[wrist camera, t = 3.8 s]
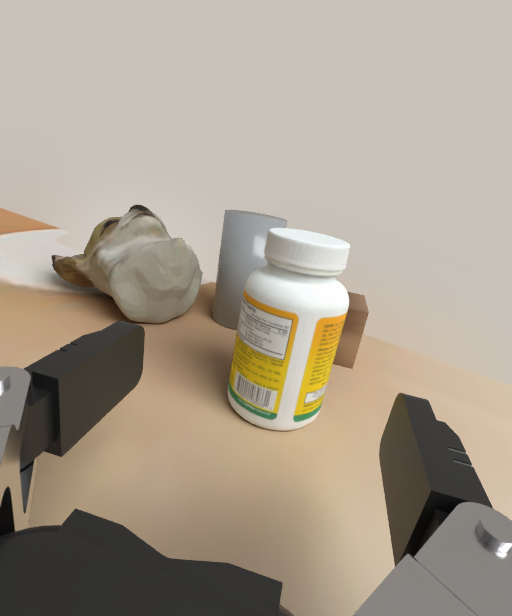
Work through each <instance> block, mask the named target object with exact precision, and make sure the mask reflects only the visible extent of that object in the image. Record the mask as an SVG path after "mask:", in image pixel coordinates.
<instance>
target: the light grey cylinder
mask: <svg viewBox="0 0 512 616" xmlns="http://www.w3.org/2000/svg"><path fill="white" fill-rule="evenodd" d="M286 224H287V220H285V219H282V218H278V217H274V216H270V215H265V214H260V213H254V212H247V211H238V210H225V216H224V224H223V232H222V240H221V248H220V256H219V264H218V272H217V280H216V288H215V296H214V304H213V312H212V318H213V320H214V321H215V322H216V323H218V324H220V325H222V326H224V327H227V328H230V329H234V330H237V329H238V322H239V316H240V310H241V304H242V299H243V292H244V287H245V283H246V280H247V278H248V276H249V275H250V274H251V273H252V272H253V271H255V270H256V269H258V268H260V267H263V266H267V264H268V261H267V260H266V259H265V253H264V249H265V245H266V240H267V235H268V231H269V229H271V228H286Z"/></svg>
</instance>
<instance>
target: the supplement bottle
mask: <svg viewBox="0 0 512 616" xmlns="http://www.w3.org/2000/svg"><path fill="white" fill-rule="evenodd" d="M349 250H350V245H349V244H348V243H347V242H345V241H343V240H340V239H337V238H335V237H331V236H328V235H324V234H319V233H314V232H310V231H304V230H297V229H289V228H271V229H269V231H268V235H267V240H266V245H265V249H264V253H265V259H266V260H267V261H268V264H267V266H263V267H260V268H258V269H256V270H255V271H253V272H252V273H251V274H250V275H249V276H248V278H247V280H246V283H245V287H244V292H243V299H242V304H241V310H240V316H239V322H238V329H237V335H236V342H235V348H234V354H233V360H232V365H231V371H230V377H229V384H228V398H229V401H230V404H231V406H232V407H233V408H234V410H235V411H236V412H237V413H238V414H239V415H240V416H241V417H243V418H244V419H245V420H247V421H249V422H250V423H252V424H255V425H257V426H259V427H263V428H266V429H271V430H278V431H288V430H295V429H299V428H302V427H304V426H306V425H308V424H309V423H311V422H312V421H313V420H314V419H315V418H316V417H317V415H318V413H319V411H320V408H321V404H322V401H323V397H324V393H325V390H326V386H327V383H328V379H329V375H330V371H331V368H332V365H333V361H334V357H335V354H336V350H337V347H338V343H339V339H340V336H341V332H342V329H343V325H344V322H345V318H346V315H347V311H348V307H349V296H348V293H347V291H346V289H345V288H344V286H343V285H342V284H341V283H339V282H338V281H337V280H336V277H337V275H339V274H341V273H342V271H343V270H344V269H345V268H346V262H347V258H348V254H349Z"/></svg>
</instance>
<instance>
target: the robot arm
mask: <svg viewBox="0 0 512 616" xmlns="http://www.w3.org/2000/svg"><path fill="white" fill-rule="evenodd" d="M144 336H145V332H144V328H143V327H142V326H140V325H136V324H132V323H128V322H124V321H117V322H115V323H113V324H112V325H110V326H108V327H107V328H105V329H103V330H101V331H97V332H94V333H90V334H87V335H83V336H81V337H80V338H78V339H76V340H74V341H72V342H71V343H70V344H67V345H65V346H63V347H62V348H60V350H56V351H55V352H53V353H51V354H49V355H47V356H46V357H44V358H42V359H40V360H38V361H37V362H35V363H33V364H31V365H29V366H28V367H26V368H24V369H21V368H17V367H0V616H294V615H293V614H292V613H291V612H289V611H288V610H287V609H285V608H284V607H283V606H281V605H280V604H279V603H280V597H281V590H282V582H279V581H277V580H274V579H271V578H268V577H265V576H263V575H260V574H257V573H254V572H251V571H249V570H246V569H243V568H240V567H237V566H235V565H232V564H229V563H221V562H207V561H194V560H181V559H171V558H167V557H165V556H163V555H162V554H160V553H159V552H158V551H156V550H155V549H154V548H152V547H151V546H150V545H148V544H147V543H145V542H144V541H143V540H141V539H140V538H139V537H137V536H136V535H135V534H133V533H132V532H131V531H129V530H128V529H127V528H125V527H124V526H123V525H120V524H117V523H115V522H112V521H109V520H106V519H103V518H101V517H98V516H95V515H92V514H89V513H87V512H84V511H81V510H78V509H75V510H74V511H73V512H72V513H71V514H70V516H69V517H68V518H67V519H66V520H65V522H64V523H63V524H62V525H61V526H60V525H53V526H40V527H33V528H28V522H29V515H30V509H31V502H32V496H33V489H34V482H35V476H36V469H37V459H36V457H37V456H39V455H40V454H41V453H42V452H43V451H45V452H48V453H51V454H54V455H57V456H60V457H62V456H63V455H64V454H65V453H66V452H67V451H68V450H69V449H71V448H72V447H73V446H74V445H75V444H76V443H77V442H78V441H79V440H80V439H81V438H82V437H83V436H84V435H85V434H86V433H87V432H88V431H89V430H90V429H92V428H93V427H94V426H95V425H96V424H97V423H98V422H99V421H100V420H101V419H102V418H103V417H104V416H105V415H106V414H107V413H108V412H109V411H110V410H112V409H113V408H114V407H115V406H116V405H117V404H118V403H119V402H120V401H121V400H122V399H123V398H124V397H125V396H126V395H127V394H128V393H129V392H130V391H132V390H133V389H134V388H135V386H136V385H137V384H138V382H139V380H140V378H141V375H142V370H143V354H144ZM465 453H466V451H465V449H464V447H463V445H462V443H461V440H460V438H459V437H458V436H457V435H456V433H455V432H454V431H453V430H452V429H451V428H450V427H449V426H448V425H447V424H446V423H445V422H441V421H437V420H436V417H435V415H434V413H433V410H432V408H431V406H430V403H429V401H428V400H426V399H422V398H418V397H414V396H410V395H406V394H403V393H399V394H398V395H397V397H396V399H395V402H394V404H393V407H392V410H391V413H390V416H389V418H388V421H387V424H386V427H385V430H384V433H383V435H382V439H381V443H380V452H379V458H380V465H381V472H382V479H383V486H384V493H385V500H386V507H387V514H388V521H389V528H390V535H391V542H392V548H393V555H394V562H395V568H394V569H393V570H392V571H391V572H390V574H389V575H388V576H387V577H386V578H385V579H384V580H383V582H382V583H381V584H380V585H379V586H378V587H377V588H376V590H375V591H374V592H373V593H372V594H371V595H370V597H369V598H368V599H367V600H366V601H365V602H364V603H363V605H362V606H361V607H360V608H359V609H358V610H357V611H356V613H355V614H354V615H353V616H512V521H511V520H510V519H509V518H507V517H506V516H504V515H503V514H501V513H500V512H498V511H496V510H494V509H493V507H492V505H491V503H490V501H489V499H488V497H487V495H486V493H485V490H484V488H483V486H482V484H481V482H480V480H479V478H478V476H477V474H476V472H475V470H474V468H473V467H471V465H472V463H471V461H470V459H469V457H468V455H467V454H465Z"/></svg>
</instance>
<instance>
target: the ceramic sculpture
mask: <svg viewBox="0 0 512 616" xmlns="http://www.w3.org/2000/svg"><path fill="white" fill-rule="evenodd" d="M52 261H53V264H52V266H53V268H54V270H55V271H56V272H57V274H58V275H59V276H60V277H61V278H63V279H64V280H66V281H67V282H70V283H72V284H75V285H79V286H84V287H96V288H98V289H99V290H101V291H102V292H104V293H106V294H107V295H109V296H111V297H113V299H114V301H115V303H116V304H117V305H118V307H119V308H120V310H121V311H122V313H123V314H124V315H125V316H126V317H127V318H129V319H130V320H132V321H136V322H146V323H156V324H161V323H165V322H167V321H169V320H171V319H173V318H175V317H179V316H180V315H182V314H184V313H185V312H186V311H188V309H189V308H190V307H191V305H192V304H193V303H194V301H195V299H196V298H197V295H198V291H199V287H200V283H201V278H202V271H201V270H200V266H199V262H198V259H197V257H196V255H195V253H194V251H193V249H192V248H191V247H190V246H189V245H187V244H186V243H185V241H184V240H183V239H182V238H174V239H171V237H170V236H169V234H168V233H167V230H166V227H165V225H164V223H163V221H162V220H161V219H160V218H159V217H158V216H157V215H155V214H154V213H152V212H151V211H150V210H149V209H147V208H146V207H144V206H142V205H134V206H132V207H131V208H130V210H129V212H128V213H126V214H125V215H124V216H123V217H112V218H108V219H106V220H104V221H103V222H102V223H100V224H99V225H97V226H96V228H95V229H94V231H93V233H92V235H91V238H90V240H89V242H88V244H87V246H86V248H85V251H84V254H80V255H75V256H73V257H61V256H57V255H52Z"/></svg>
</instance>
